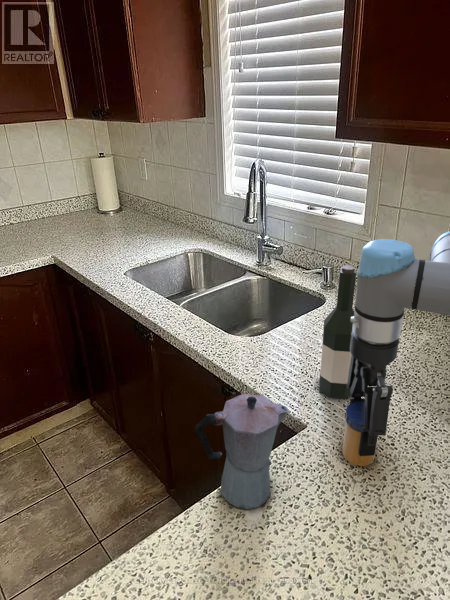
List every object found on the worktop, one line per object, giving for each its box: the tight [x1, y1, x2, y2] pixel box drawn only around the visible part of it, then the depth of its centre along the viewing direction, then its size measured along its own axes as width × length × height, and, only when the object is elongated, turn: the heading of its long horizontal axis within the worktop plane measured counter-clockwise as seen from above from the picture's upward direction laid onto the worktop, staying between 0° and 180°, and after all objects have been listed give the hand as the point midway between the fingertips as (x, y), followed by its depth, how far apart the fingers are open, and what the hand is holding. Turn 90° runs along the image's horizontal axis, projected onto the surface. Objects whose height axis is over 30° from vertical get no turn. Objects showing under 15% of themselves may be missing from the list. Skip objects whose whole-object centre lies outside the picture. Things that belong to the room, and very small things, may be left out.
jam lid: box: [344, 402, 365, 432], centre depth 81 cm, size 6×6×2 cm
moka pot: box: [194, 393, 291, 510], centre depth 74 cm, size 10×15×20 cm, turn 107°
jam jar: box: [341, 421, 379, 467], centre depth 83 cm, size 6×6×9 cm
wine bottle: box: [318, 264, 357, 400], centre depth 96 cm, size 8×8×30 cm
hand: (360, 439), depth 83 cm, fingers closed on jam lid, 6 cm apart
